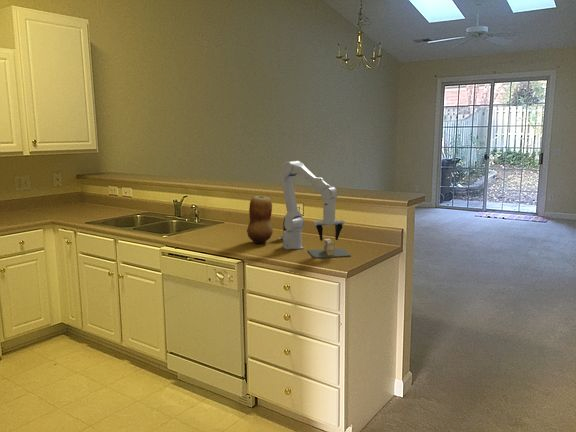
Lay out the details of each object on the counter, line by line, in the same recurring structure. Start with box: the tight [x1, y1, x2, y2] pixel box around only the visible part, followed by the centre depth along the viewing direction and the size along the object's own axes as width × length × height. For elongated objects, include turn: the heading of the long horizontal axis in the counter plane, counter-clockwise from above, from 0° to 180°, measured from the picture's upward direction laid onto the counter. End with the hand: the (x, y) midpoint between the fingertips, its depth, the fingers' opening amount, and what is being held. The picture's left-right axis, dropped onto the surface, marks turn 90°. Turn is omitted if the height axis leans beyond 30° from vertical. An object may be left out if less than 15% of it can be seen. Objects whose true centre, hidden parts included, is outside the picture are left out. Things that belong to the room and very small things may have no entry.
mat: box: [307, 247, 352, 259], centre depth 239 cm, size 18×14×1 cm
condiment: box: [278, 217, 287, 240], centre depth 272 cm, size 7×8×12 cm
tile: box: [323, 238, 336, 255], centre depth 238 cm, size 9×3×6 cm, turn 10°
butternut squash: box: [246, 195, 274, 244], centre depth 261 cm, size 14×13×25 cm
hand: (328, 240), depth 238 cm, fingers open, 7 cm apart
